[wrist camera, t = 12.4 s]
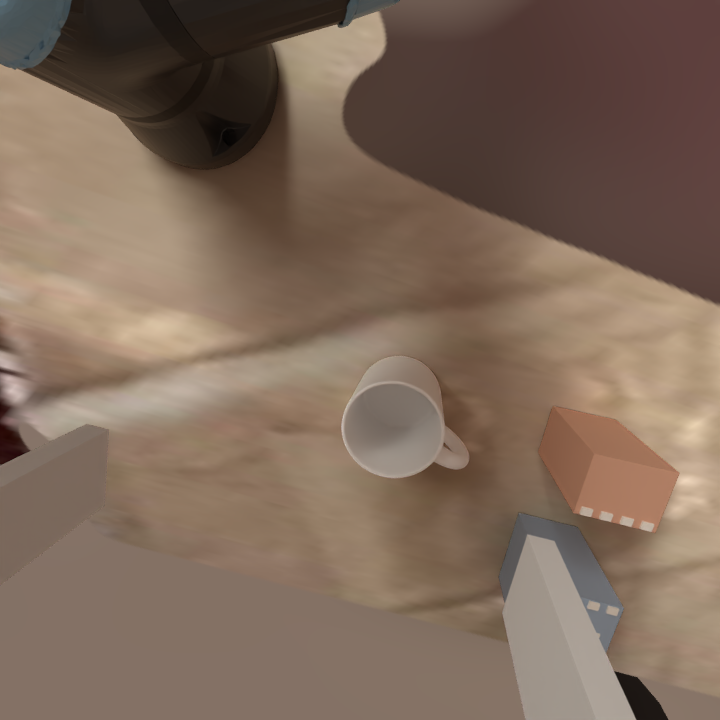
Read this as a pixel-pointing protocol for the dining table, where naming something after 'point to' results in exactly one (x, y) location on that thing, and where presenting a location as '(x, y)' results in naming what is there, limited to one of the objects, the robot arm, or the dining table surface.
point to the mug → (399, 421)
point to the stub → (606, 469)
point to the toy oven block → (579, 565)
